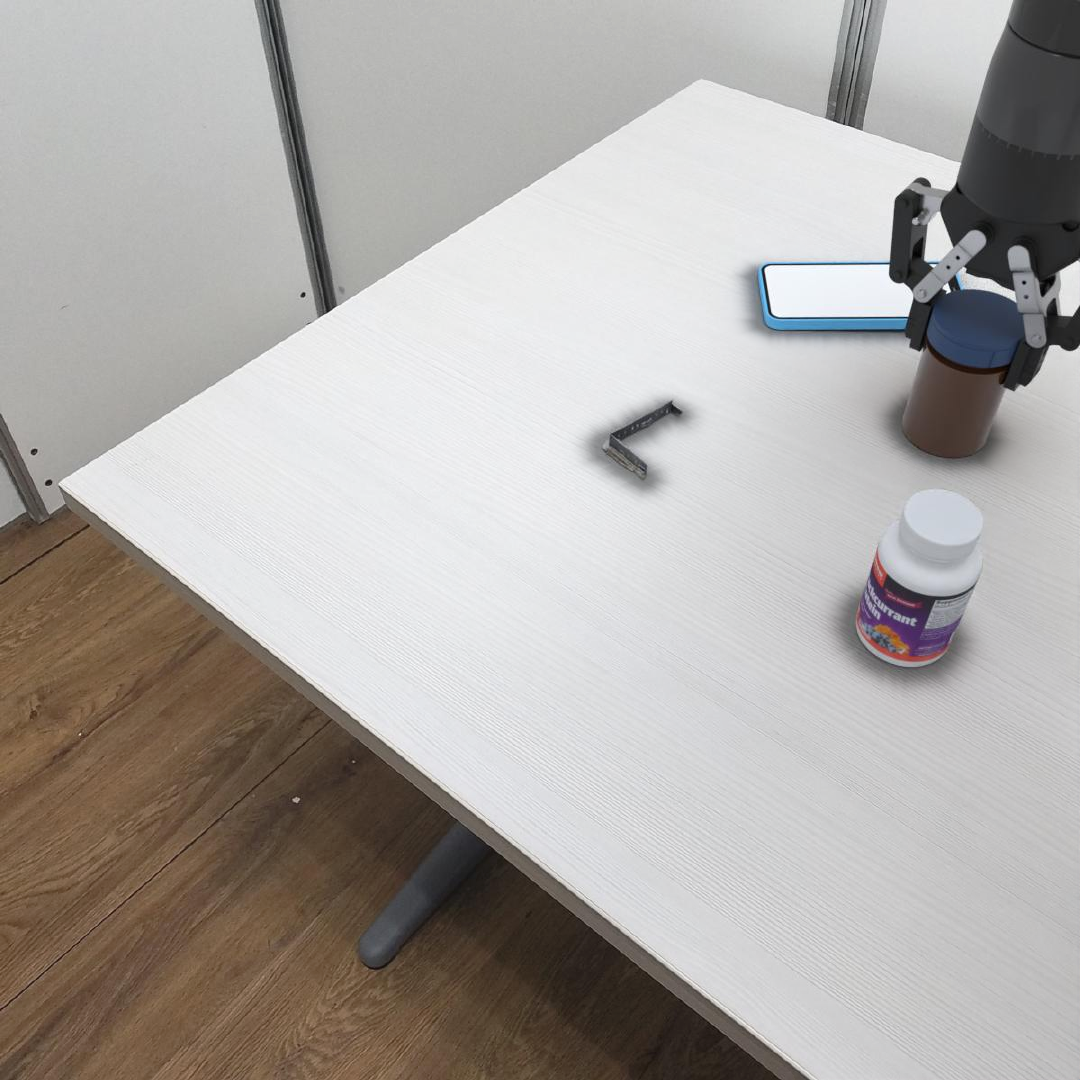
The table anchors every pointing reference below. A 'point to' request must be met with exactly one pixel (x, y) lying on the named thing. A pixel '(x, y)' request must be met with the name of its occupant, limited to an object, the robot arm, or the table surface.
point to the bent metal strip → (629, 429)
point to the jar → (952, 405)
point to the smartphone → (835, 295)
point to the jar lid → (976, 328)
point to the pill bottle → (921, 579)
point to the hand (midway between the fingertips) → (966, 362)
